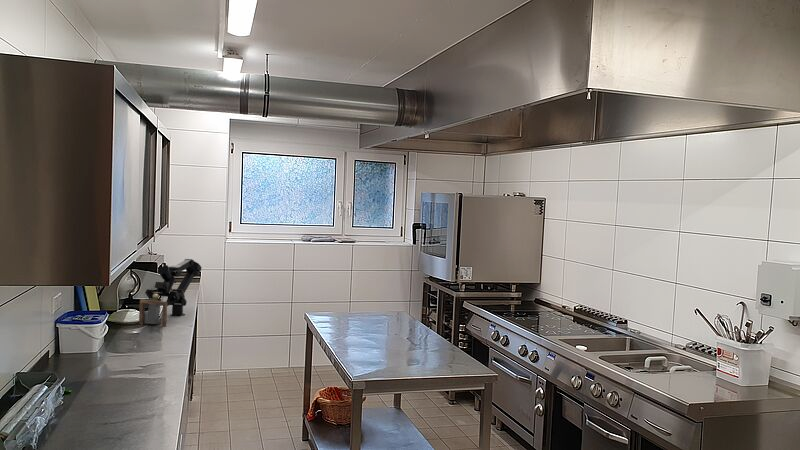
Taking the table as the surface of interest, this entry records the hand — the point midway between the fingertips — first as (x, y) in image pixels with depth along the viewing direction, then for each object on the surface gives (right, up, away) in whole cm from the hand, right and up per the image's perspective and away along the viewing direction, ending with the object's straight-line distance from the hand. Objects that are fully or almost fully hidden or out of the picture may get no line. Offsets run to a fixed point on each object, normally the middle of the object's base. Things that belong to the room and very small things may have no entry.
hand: (156, 307), depth 339 cm
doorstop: (-1, -9, -3) cm, 9 cm away
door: (-5, -8, +4) cm, 11 cm away
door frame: (0, -9, -5) cm, 11 cm away
